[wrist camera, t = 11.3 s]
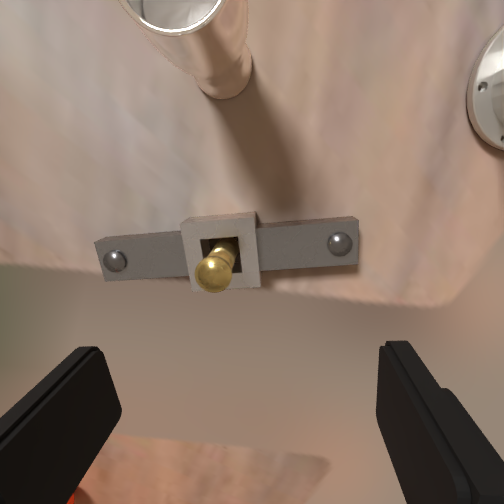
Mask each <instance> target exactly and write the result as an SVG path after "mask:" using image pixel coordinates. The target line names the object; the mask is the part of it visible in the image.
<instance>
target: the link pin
mask: <svg viewBox="0 0 504 504" xmlns="http://www.w3.org/2000/svg"><path fill="white" fill-rule="evenodd" d="M238 252H239V244H238V242H237V240H236V239H234V238H233V237H223V238H221V239H220V240H219V241H218V242H217V244H216V245H215V247H214V248H213V249H212V251H211V252H210V254H209V255H208V256H207V257H205V258H204V259H202V260H201V261H200V262H199V264H198V265H197V266H196V269H195V280H196V282H197V284H198V285H199V286H200V287H201V288H202V289H204V290H205V291H208V292H214V293H215V292H221V291H223V290H225V289H226V288H227V287H228V286H229V284H230V282H231V279H232V267H233V265H234V262H235V260H236V257H237V254H238Z"/></svg>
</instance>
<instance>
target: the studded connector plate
mask: <svg viewBox="0 0 504 504" xmlns="http://www.w3.org/2000/svg"><path fill="white" fill-rule="evenodd" d="M180 228H181V231H172V232H160V233H148V234H136V235H124V236H113V237H105V238H103V239H100V240H98V241H96V242H94V244H95V247H96V251H97V254H98V258H99V261H100V265H101V268H102V272H103V276H104V279H105V281H119V280H135V279H149V278H164V277H179V276H189V278H190V283H191V288H192V291H205V290H204V289H202V288H201V287H200V286H199V285H198V284H197V282H196V280H195V269H196V266H197V265H198V264H199V262H200V261H201V260H202V259H204V258H205V257H207V256H208V255H209V254H210V247H209V240H208V239H211V238H223V237H236V236H238V240H239V249H240V257H241V262H236V263H234V265H233V267H232V279H231V282H230V284H229V286H228V287H227V288H226V289H240V288H256V287H261V279H262V272H261V271H266V270H281V269H296V268H310V267H325V266H340V265H354V264H358V234H359V220H358V219H356V218H354V217H353V216H349V217H337V218H326V219H314V220H302V221H290V222H278V223H266V224H257V219H256V212H247V213H236V214H225V215H213V216H202V217H191V218H188V219H186V220H185V221H183V222H182V223H180Z"/></svg>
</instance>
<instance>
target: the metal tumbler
mask: <svg viewBox="0 0 504 504" xmlns="http://www.w3.org/2000/svg"><path fill="white" fill-rule="evenodd" d="M118 1H119V3H120V4H121V6H122V7H123V8H124V10H125V11H126V12H127V13H128V15H129V16H130V17H131V18H132V19H133V20H134V22H135V23H136V25H137V26H138V27H139V29H140V30H141V31H142V33H143V34H144V35H145V37H146V38H147V39H148V40H149V41H150V43H151V44H152V45H153V46H154V47H155V48H156V50H157V51H158V52H159V53H160V54H161V55H162V56H163V57H165V58H166V59H167V60H168V61H169V62H170V63H171V64H172V65H174V66H175V67H177V68H178V69H180V70H182V71H183V72H185V73H187V74H189V75H191V76H193V77H194V78H195V81H196V82H197V84H198V86H199V87H200V88H201V89H202V91H203V92H205V93H206V94H207V95H209V96H211V97H213V98H216V99H229V98H232V97H234V96H236V95H238V94H239V93H240V92H241V91H242V90H243V89H244V88H245V86H246V85H247V83H248V81H249V79H250V75H251V71H252V58H251V54H250V51H249V48H248V46H247V44H246V38H247V32H248V20H249V8H248V0H118Z"/></svg>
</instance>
